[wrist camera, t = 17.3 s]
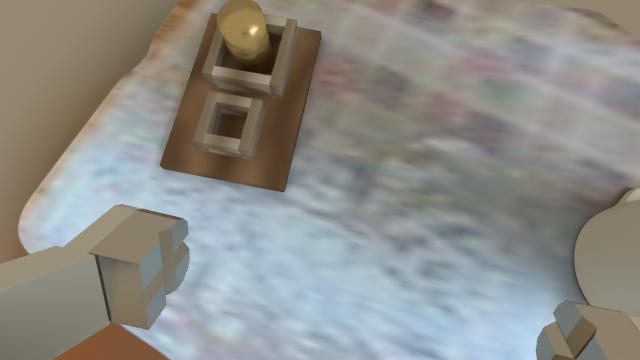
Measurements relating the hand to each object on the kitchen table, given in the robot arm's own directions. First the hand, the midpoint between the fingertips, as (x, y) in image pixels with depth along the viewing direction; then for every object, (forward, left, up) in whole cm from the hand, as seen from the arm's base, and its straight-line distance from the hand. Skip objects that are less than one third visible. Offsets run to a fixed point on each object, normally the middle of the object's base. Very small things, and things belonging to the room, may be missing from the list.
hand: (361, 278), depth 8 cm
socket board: (+15, -20, -34) cm, 42 cm away
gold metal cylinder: (+15, -25, -33) cm, 44 cm away
